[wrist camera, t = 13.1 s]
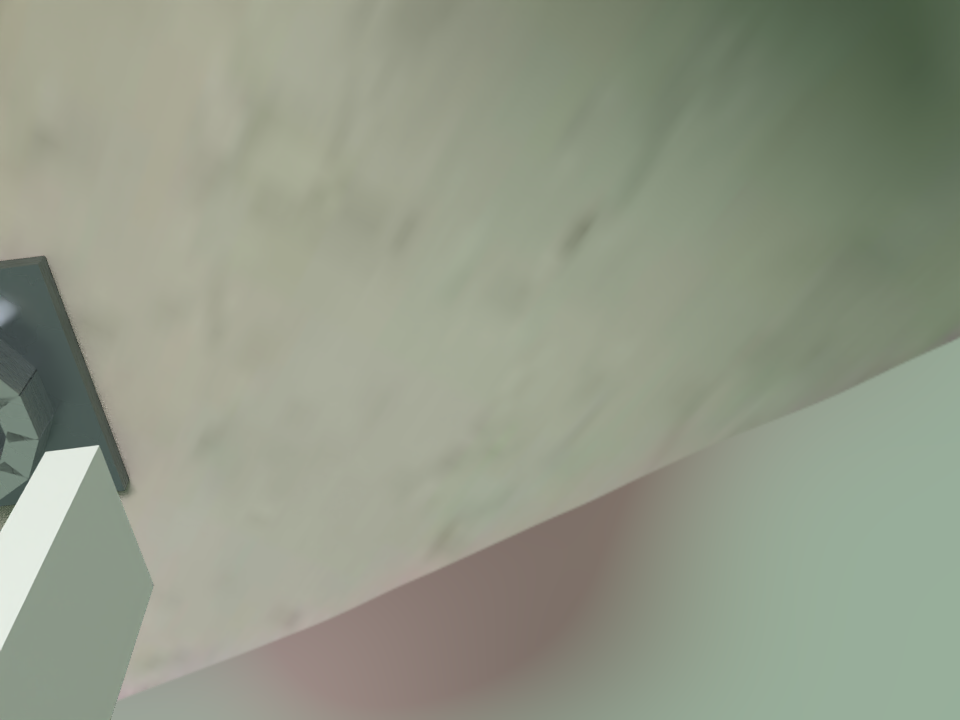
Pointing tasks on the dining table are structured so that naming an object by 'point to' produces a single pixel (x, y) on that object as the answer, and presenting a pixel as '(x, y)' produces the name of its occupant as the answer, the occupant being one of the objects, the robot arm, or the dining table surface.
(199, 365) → the dining table surface
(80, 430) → the ring stand
